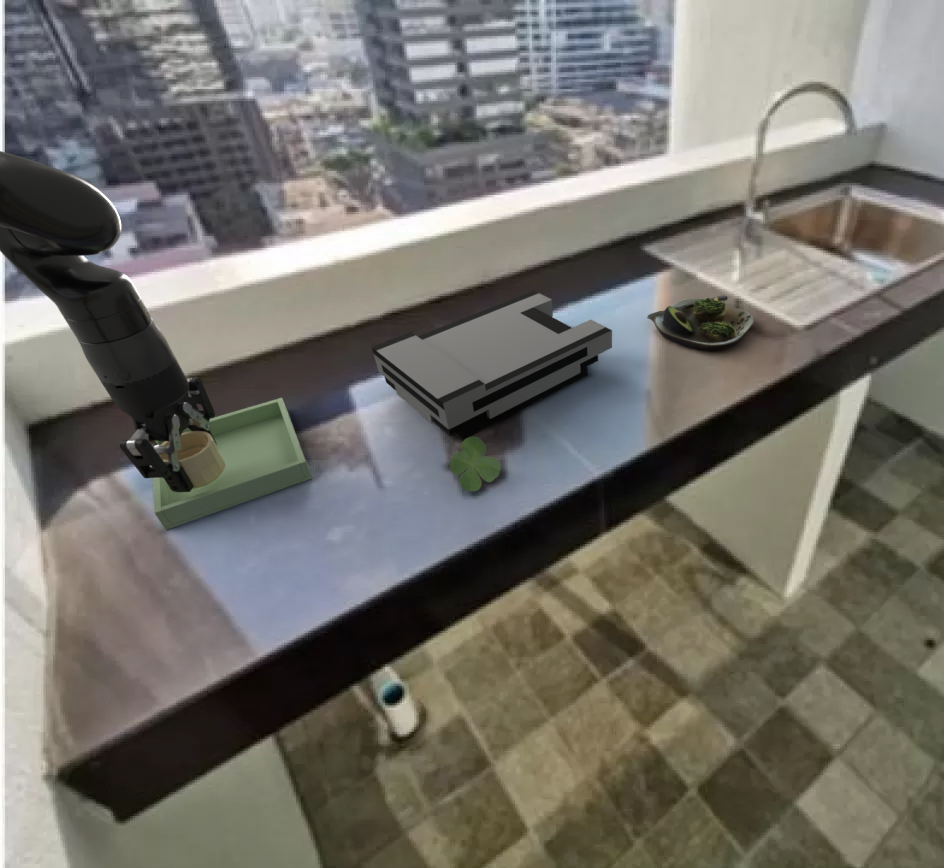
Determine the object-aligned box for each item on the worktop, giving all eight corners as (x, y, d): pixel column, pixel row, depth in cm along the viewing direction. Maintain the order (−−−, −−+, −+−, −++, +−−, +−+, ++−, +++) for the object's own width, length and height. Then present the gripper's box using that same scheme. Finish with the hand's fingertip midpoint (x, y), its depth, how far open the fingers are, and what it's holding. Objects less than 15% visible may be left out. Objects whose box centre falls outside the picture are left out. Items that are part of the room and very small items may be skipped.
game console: (611, 366, 104) (612, 323, 99) (453, 449, 87) (443, 403, 82) (536, 324, 116) (533, 284, 111) (383, 390, 99) (371, 347, 94)
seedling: (472, 497, 86) (498, 495, 82) (421, 488, 81) (446, 485, 76) (478, 448, 88) (505, 444, 83) (429, 436, 83) (454, 431, 78)
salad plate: (689, 293, 126) (691, 272, 123) (769, 317, 117) (773, 295, 114) (637, 330, 114) (638, 308, 111) (722, 360, 105) (725, 337, 102)
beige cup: (175, 498, 76) (156, 469, 73) (172, 470, 80) (154, 441, 77) (229, 480, 79) (214, 451, 76) (224, 453, 83) (209, 425, 80)
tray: (165, 530, 75) (154, 513, 73) (159, 453, 87) (149, 436, 85) (312, 478, 83) (305, 461, 81) (288, 413, 94) (281, 397, 92)
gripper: (137, 332, 74) (196, 437, 85) (60, 400, 63) (138, 512, 73) (199, 331, 74) (250, 436, 85) (133, 398, 63) (200, 510, 73)
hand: (198, 471), depth 79 cm, fingers closed on beige cup, 6 cm apart
